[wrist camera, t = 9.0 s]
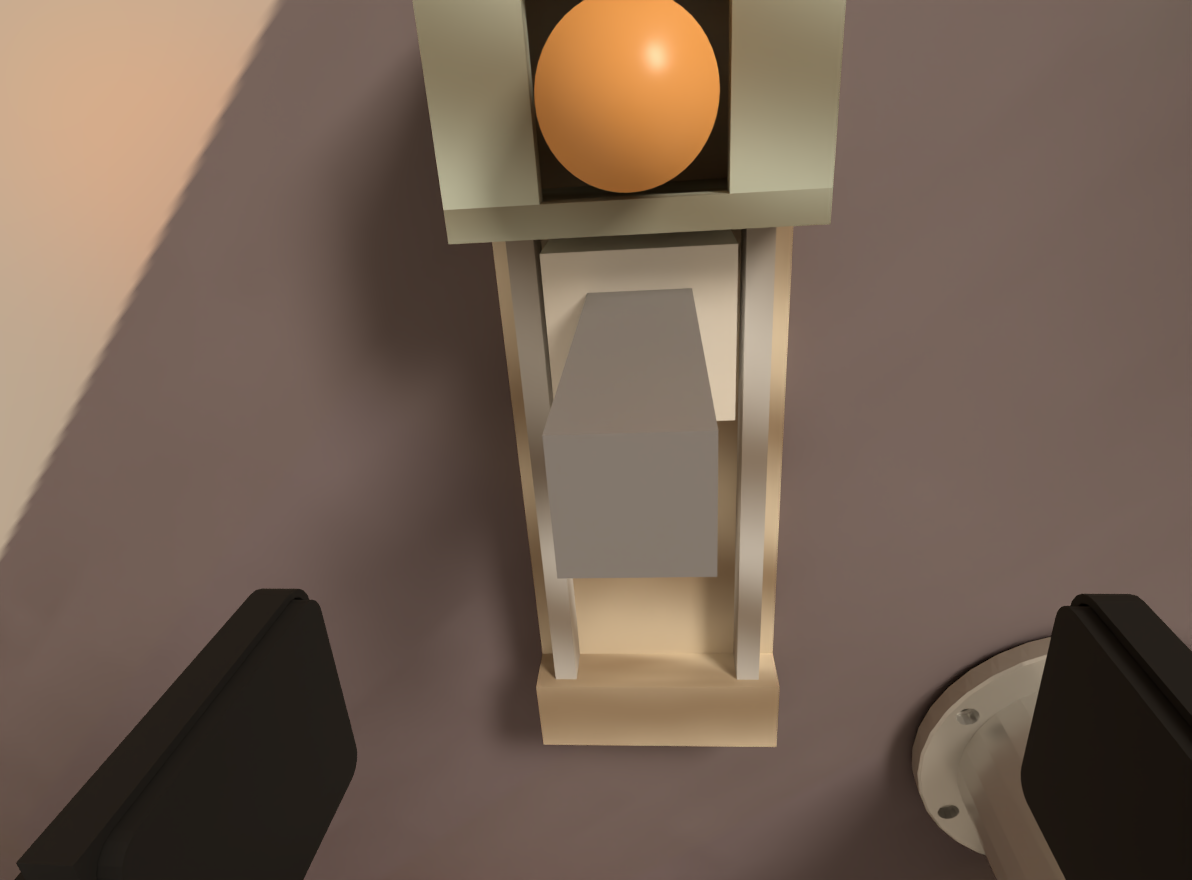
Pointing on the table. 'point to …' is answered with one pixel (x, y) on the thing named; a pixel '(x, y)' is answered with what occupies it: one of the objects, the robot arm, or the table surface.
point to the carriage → (638, 399)
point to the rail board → (755, 438)
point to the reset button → (626, 92)
